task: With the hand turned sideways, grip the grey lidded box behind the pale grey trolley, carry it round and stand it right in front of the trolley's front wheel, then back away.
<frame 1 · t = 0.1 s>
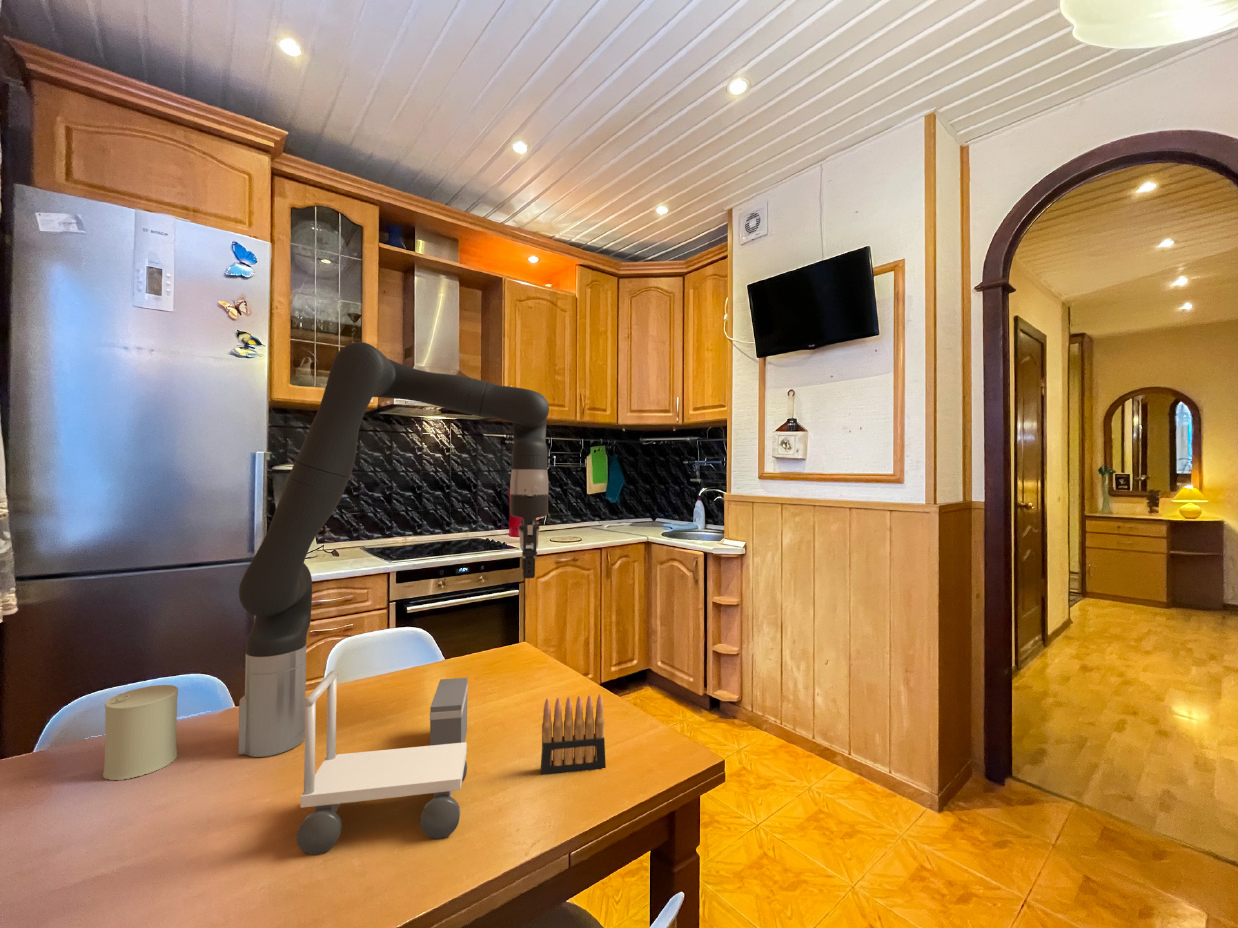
hand: (528, 573, 104), 29 cm above the table, tool pointing down, fingers open, 8 cm apart
trolley: (390, 815, 75), on the table
can: (141, 765, 87), on the table
grey lidded box: (449, 747, 93), on the table
ammunition clip: (573, 769, 87), on the table
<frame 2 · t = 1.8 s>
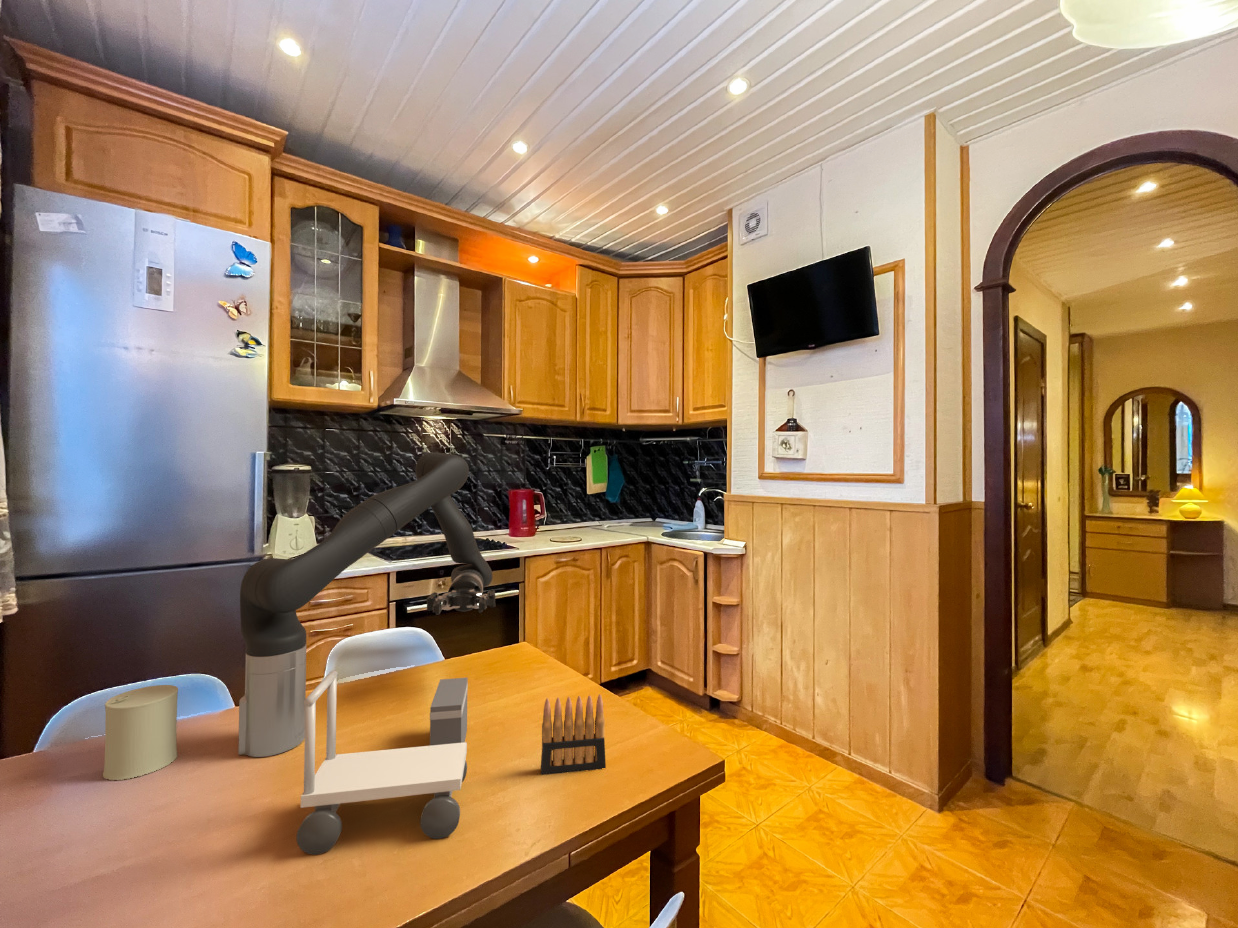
hand: (459, 608, 108), 21 cm above the table, tool horizontal, fingers open, 8 cm apart
nothing on the table moved.
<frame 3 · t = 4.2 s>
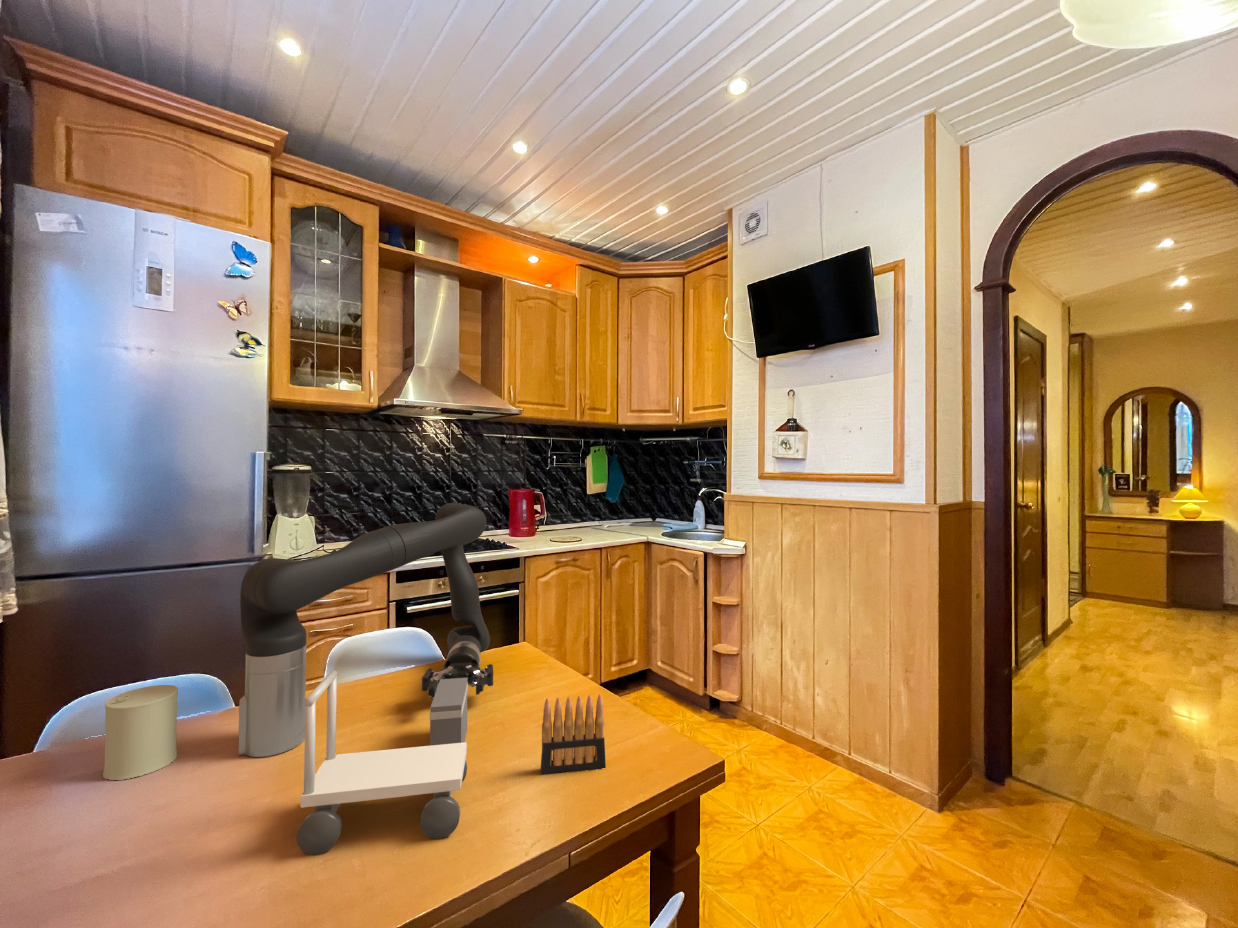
hand: (455, 691, 103), 6 cm above the table, tool horizontal, fingers open, 8 cm apart
nothing on the table moved.
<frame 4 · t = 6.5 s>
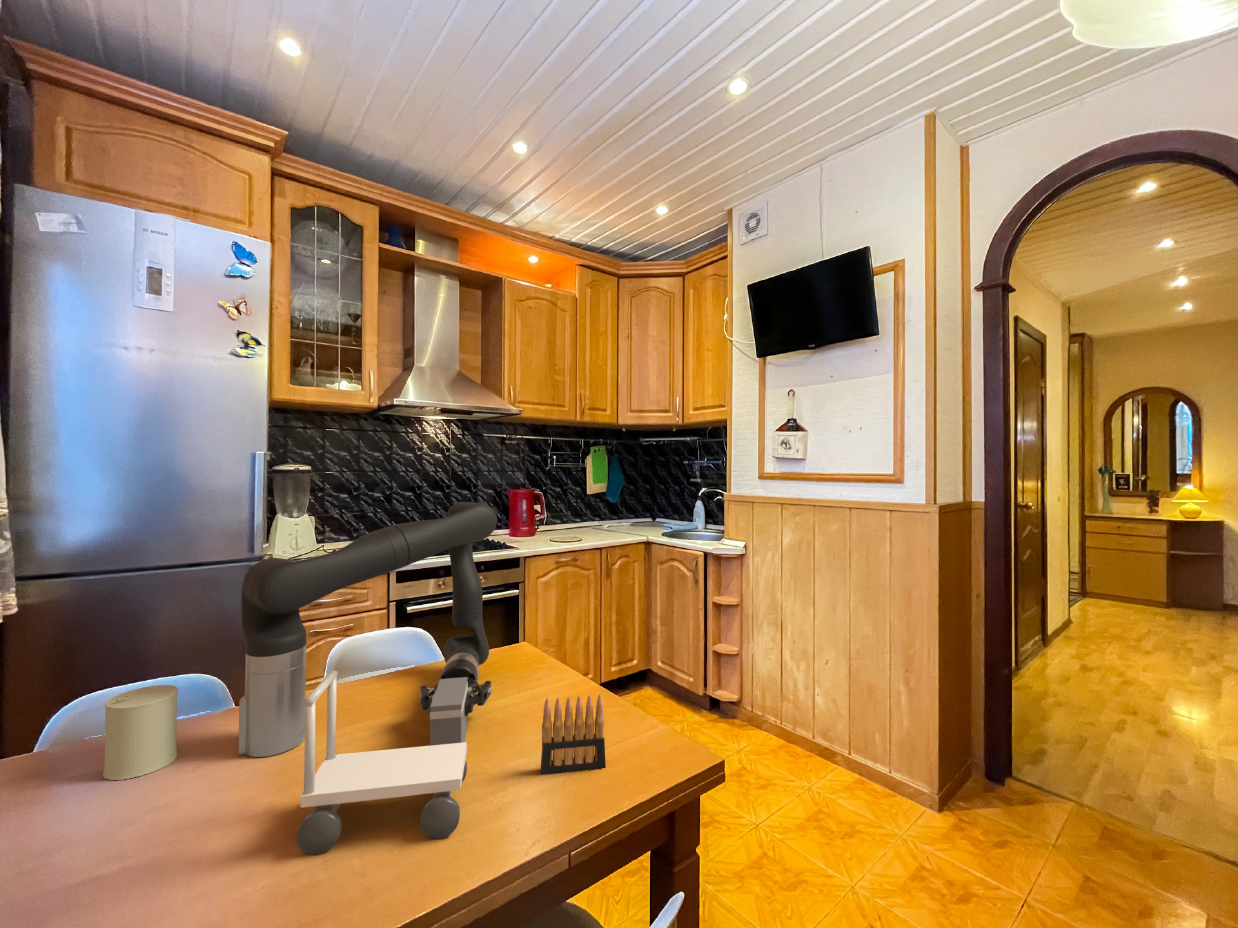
hand: (450, 711, 94), 6 cm above the table, tool horizontal, fingers closed on grey lidded box, 5 cm apart
grey lidded box: (449, 747, 93), on the table, touching gripper
everything else where it was.
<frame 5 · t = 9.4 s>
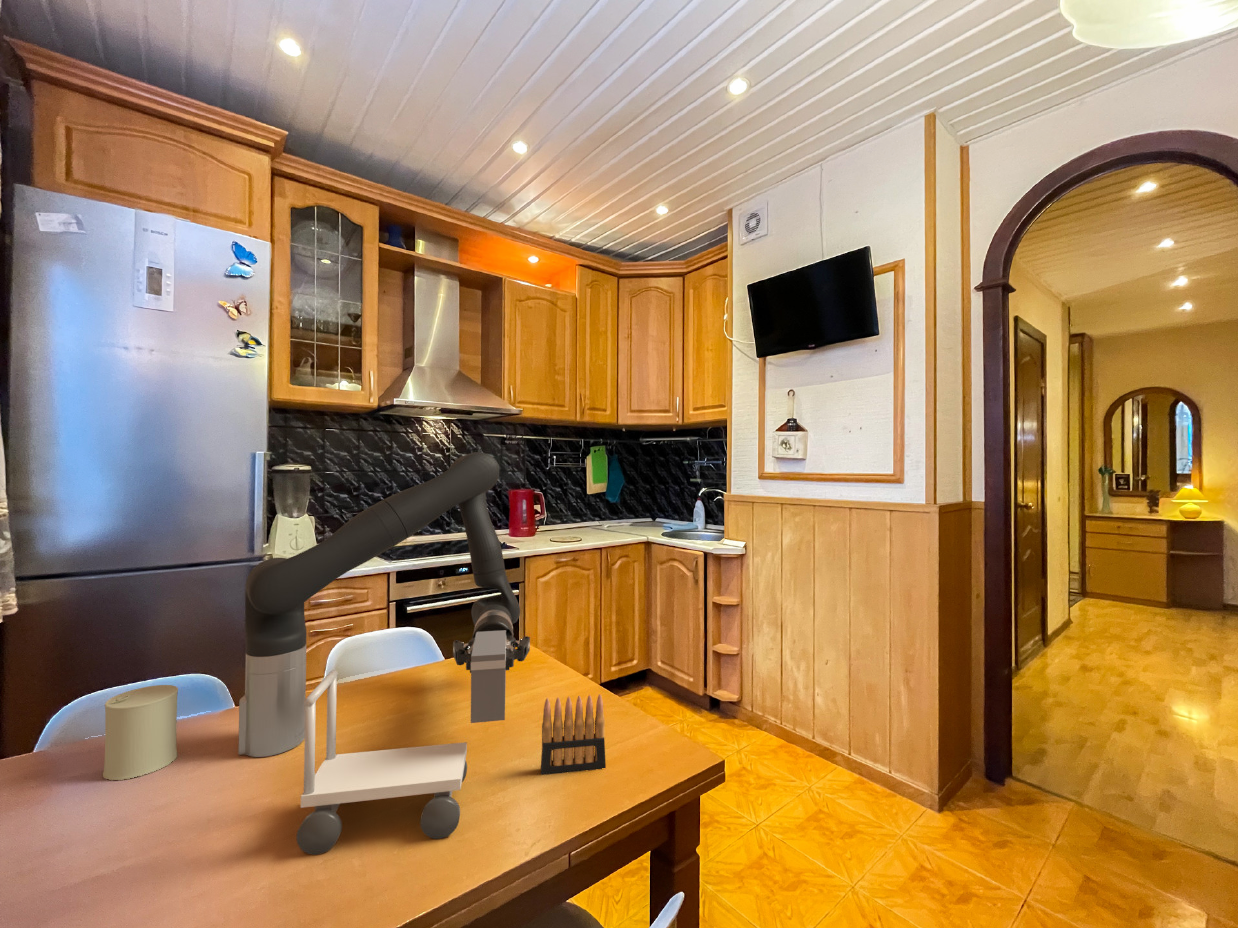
hand: (489, 665, 85), 18 cm above the table, tool horizontal, fingers closed on grey lidded box, 5 cm apart
grey lidded box: (489, 703, 85), point 12 cm above the table, touching gripper
everything else where it was.
when the fingers open (7 cm above the table, at t = 12.4 s): grey lidded box stays where it is, on the table.
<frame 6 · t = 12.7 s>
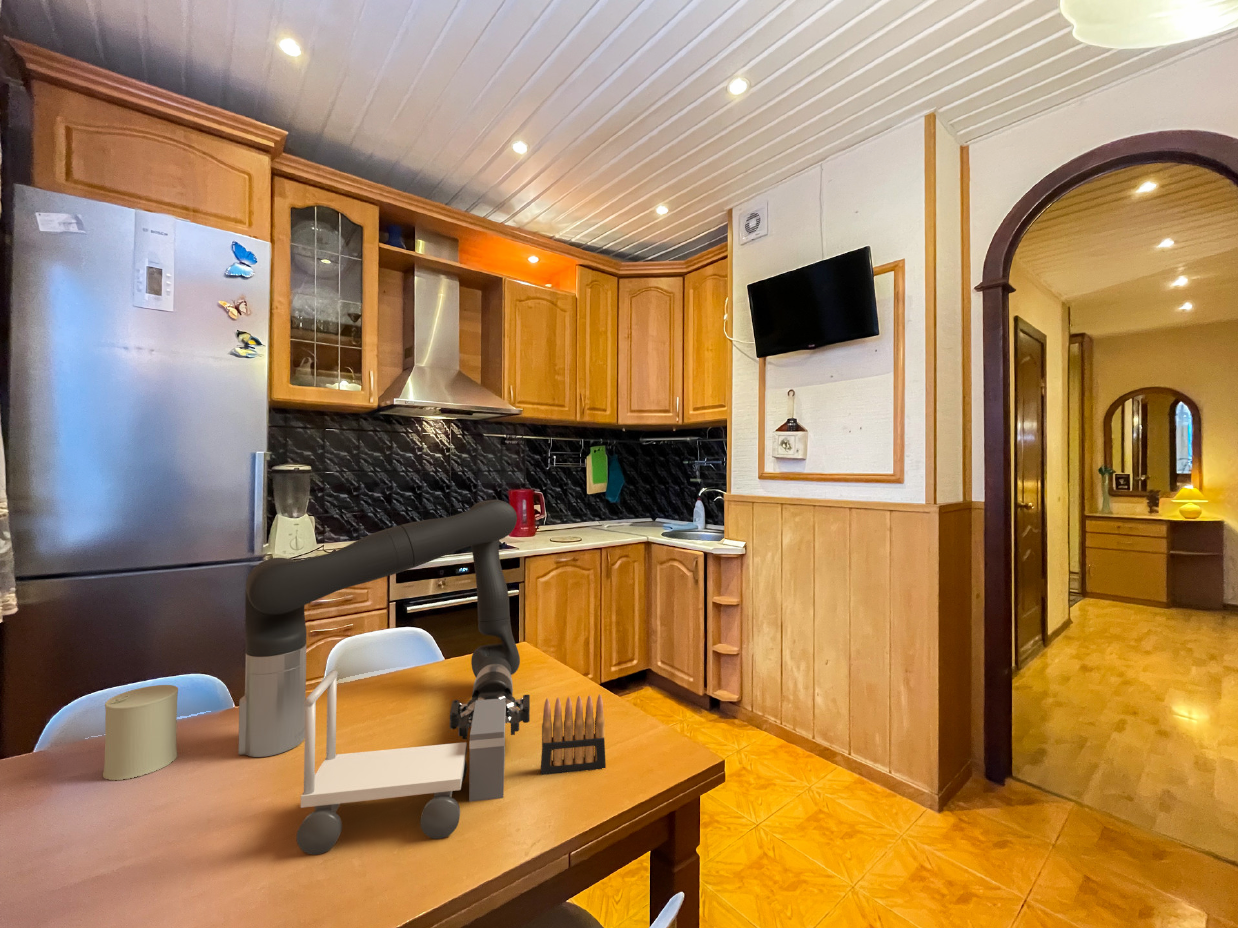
hand: (489, 731, 85), 7 cm above the table, tool horizontal, fingers open, 7 cm apart
grey lidded box: (488, 777, 84), on the table
everything else where it was.
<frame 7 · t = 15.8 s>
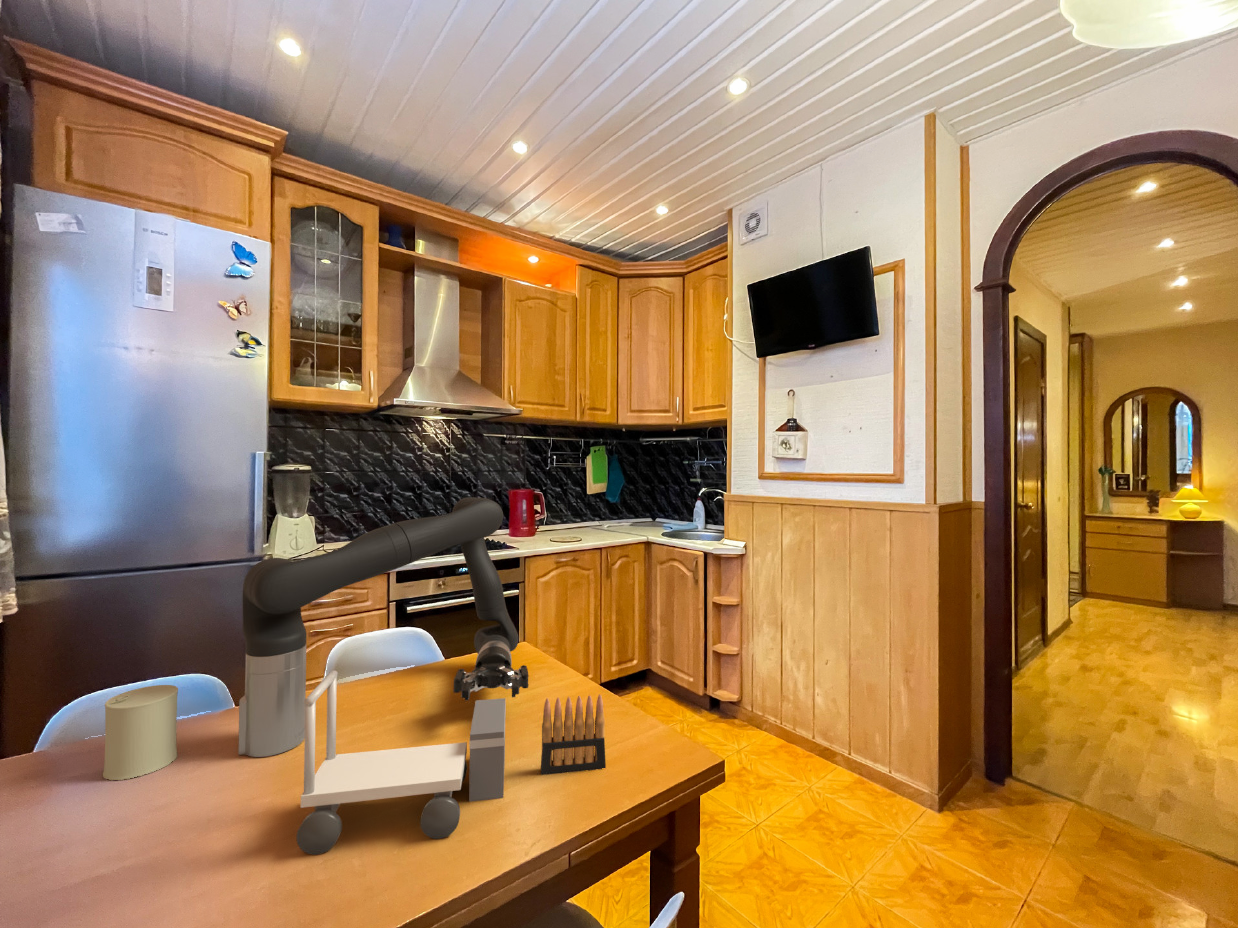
hand: (490, 693, 97), 8 cm above the table, tool horizontal, fingers open, 8 cm apart
nothing on the table moved.
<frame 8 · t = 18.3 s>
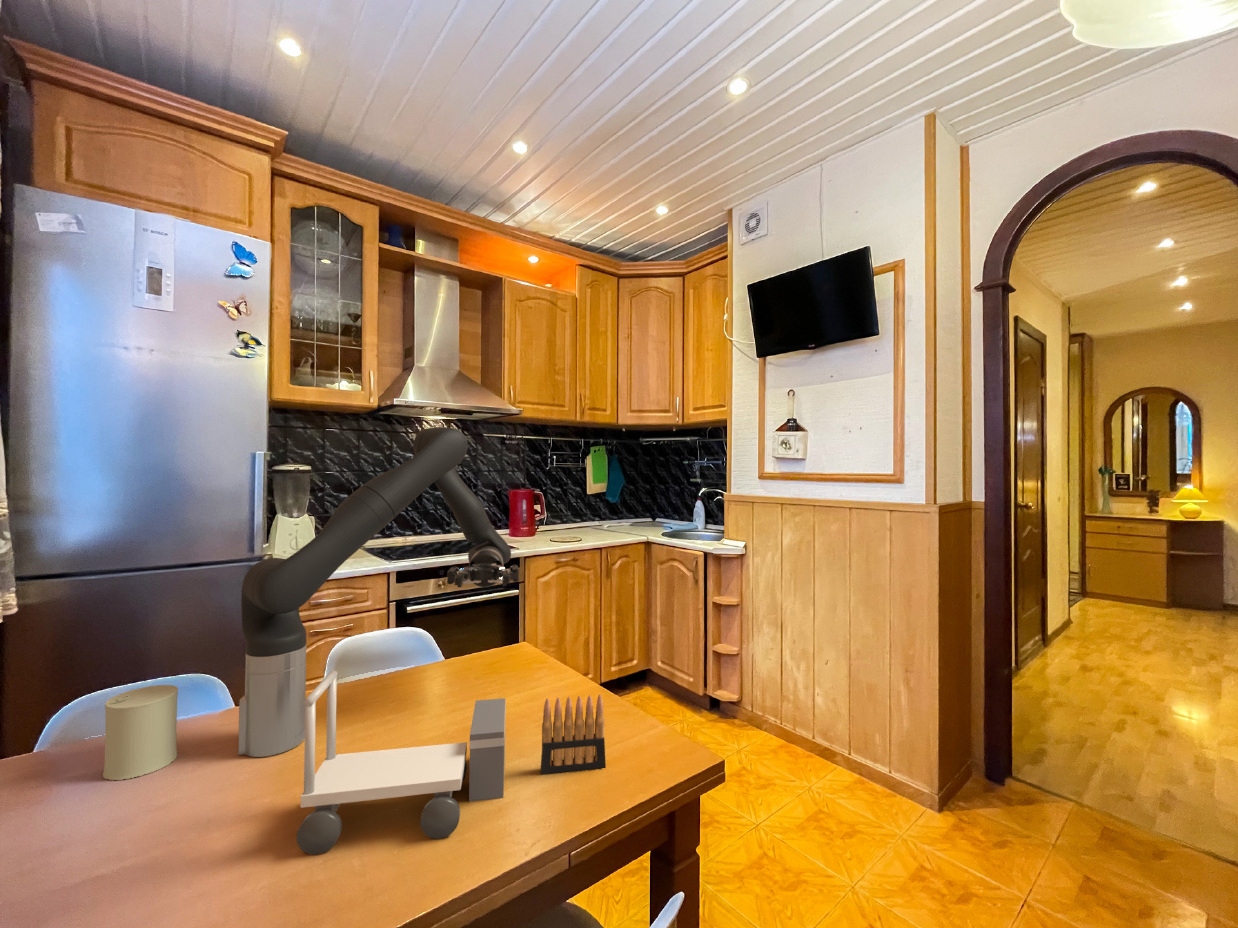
hand: (482, 581, 102), 28 cm above the table, tool horizontal, fingers open, 8 cm apart
nothing on the table moved.
at the end: grey lidded box 0.6 cm from the target spot on the table beside the trolley, on the table; grey lidded box tilted 0°; the gripper is holding nothing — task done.
